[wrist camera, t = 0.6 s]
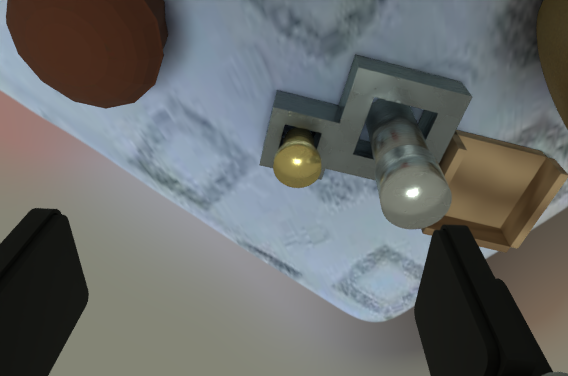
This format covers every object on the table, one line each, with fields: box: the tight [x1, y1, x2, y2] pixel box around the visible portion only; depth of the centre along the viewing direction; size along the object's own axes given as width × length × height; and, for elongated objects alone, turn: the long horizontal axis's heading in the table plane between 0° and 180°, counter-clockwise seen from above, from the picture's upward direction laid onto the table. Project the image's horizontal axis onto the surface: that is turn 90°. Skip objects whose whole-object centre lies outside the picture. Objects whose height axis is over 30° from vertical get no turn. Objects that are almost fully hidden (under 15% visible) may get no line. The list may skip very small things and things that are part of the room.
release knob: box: [273, 127, 321, 188], centre depth 39 cm, size 4×4×5 cm
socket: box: [260, 54, 472, 180], centre depth 41 cm, size 11×16×4 cm
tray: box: [421, 130, 568, 252], centre depth 45 cm, size 10×11×4 cm
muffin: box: [6, 0, 168, 108], centre depth 35 cm, size 12×11×10 cm
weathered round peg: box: [366, 98, 452, 229], centre depth 37 cm, size 5×5×14 cm
